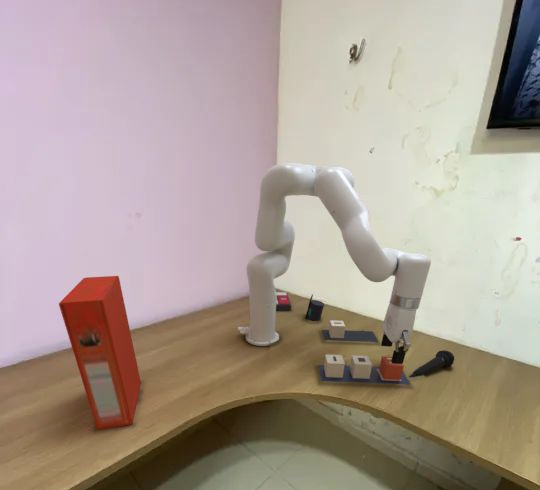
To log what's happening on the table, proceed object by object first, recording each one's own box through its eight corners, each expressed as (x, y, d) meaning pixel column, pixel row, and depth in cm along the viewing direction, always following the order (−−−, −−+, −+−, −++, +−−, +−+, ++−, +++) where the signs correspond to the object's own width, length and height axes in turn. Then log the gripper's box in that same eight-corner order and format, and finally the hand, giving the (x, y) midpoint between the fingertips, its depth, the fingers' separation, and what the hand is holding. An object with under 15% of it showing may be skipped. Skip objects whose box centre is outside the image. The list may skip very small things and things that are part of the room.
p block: (352, 378, 92) (355, 363, 90) (349, 369, 97) (351, 355, 95) (369, 378, 92) (372, 364, 90) (365, 369, 97) (368, 355, 95)
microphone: (411, 390, 94) (452, 367, 102) (419, 379, 90) (461, 355, 98) (398, 377, 97) (439, 355, 105) (404, 366, 93) (447, 344, 101)
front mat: (321, 383, 91) (321, 380, 91) (318, 367, 99) (318, 364, 99) (410, 387, 91) (410, 384, 90) (399, 370, 99) (400, 367, 98)
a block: (330, 337, 116) (331, 325, 114) (328, 332, 120) (329, 320, 118) (343, 338, 116) (345, 326, 114) (341, 332, 120) (343, 320, 118)
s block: (383, 379, 92) (386, 364, 90) (378, 370, 97) (381, 356, 94) (400, 379, 92) (404, 365, 90) (394, 370, 97) (398, 356, 94)
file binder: (96, 429, 73) (58, 302, 59) (110, 386, 88) (83, 277, 74) (132, 424, 75) (104, 299, 61) (141, 383, 90) (120, 275, 76)
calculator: (267, 303, 139) (264, 291, 152) (266, 312, 141) (264, 299, 154) (291, 303, 140) (287, 291, 153) (290, 312, 142) (286, 299, 155)
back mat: (324, 342, 115) (324, 340, 114) (321, 331, 123) (321, 329, 122) (378, 344, 114) (378, 342, 114) (372, 333, 122) (372, 331, 122)
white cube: (325, 377, 93) (327, 362, 90) (323, 368, 97) (325, 354, 95) (342, 377, 92) (344, 363, 90) (339, 368, 97) (341, 354, 95)
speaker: (300, 319, 133) (304, 296, 128) (306, 315, 137) (311, 293, 132) (315, 325, 129) (320, 302, 124) (322, 321, 133) (327, 299, 129)
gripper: (381, 289, 92) (371, 339, 99) (402, 312, 76) (387, 369, 84) (407, 290, 92) (394, 340, 99) (432, 313, 76) (415, 371, 84)
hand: (391, 354), depth 92 cm, fingers open, 9 cm apart
